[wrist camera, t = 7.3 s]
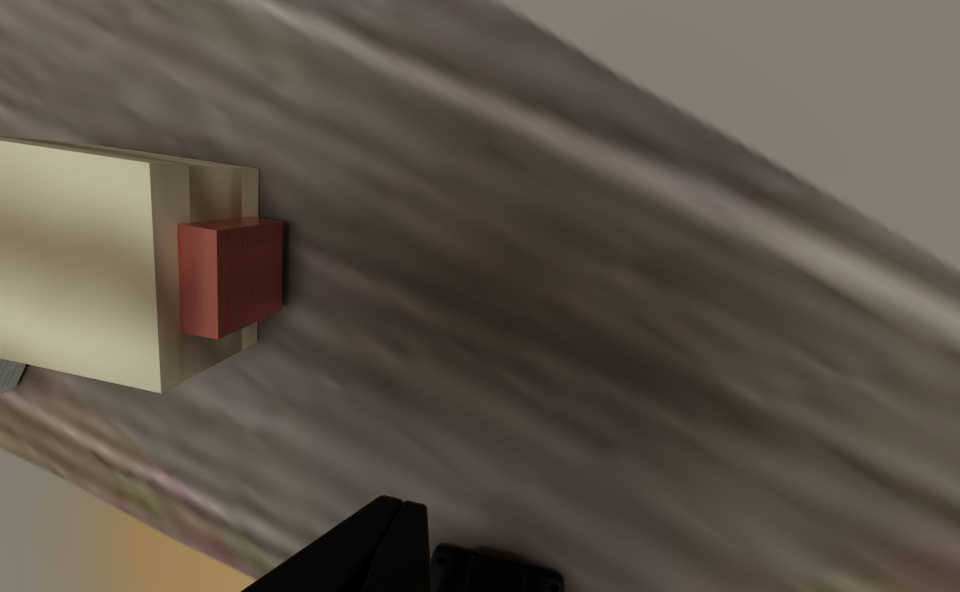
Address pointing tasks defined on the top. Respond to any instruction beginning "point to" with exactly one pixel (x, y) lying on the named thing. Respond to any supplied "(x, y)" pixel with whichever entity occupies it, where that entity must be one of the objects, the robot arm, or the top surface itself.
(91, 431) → the top surface
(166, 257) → the block
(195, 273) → the pin
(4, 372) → the small box
